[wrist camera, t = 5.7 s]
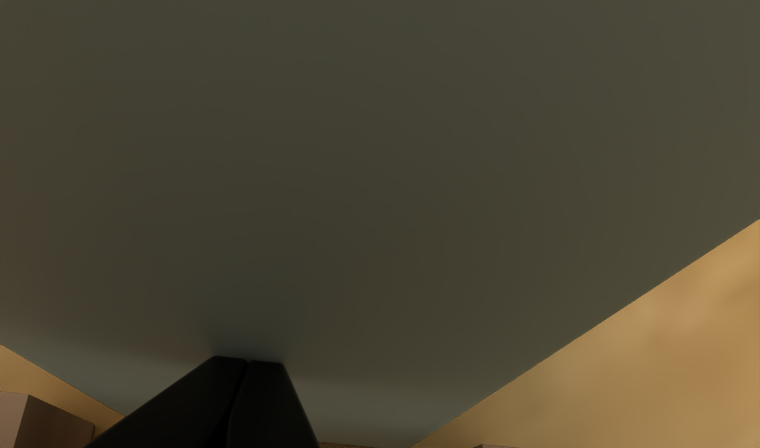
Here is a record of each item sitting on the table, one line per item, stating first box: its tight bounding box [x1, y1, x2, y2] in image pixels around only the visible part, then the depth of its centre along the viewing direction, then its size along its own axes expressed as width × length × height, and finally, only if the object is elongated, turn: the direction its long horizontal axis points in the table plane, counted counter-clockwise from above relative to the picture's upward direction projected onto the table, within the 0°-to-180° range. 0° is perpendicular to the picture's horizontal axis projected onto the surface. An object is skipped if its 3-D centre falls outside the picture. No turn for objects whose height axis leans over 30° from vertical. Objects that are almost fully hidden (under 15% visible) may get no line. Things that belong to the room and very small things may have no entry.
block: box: [0, 0, 760, 448], centre depth 10 cm, size 6×6×15 cm
